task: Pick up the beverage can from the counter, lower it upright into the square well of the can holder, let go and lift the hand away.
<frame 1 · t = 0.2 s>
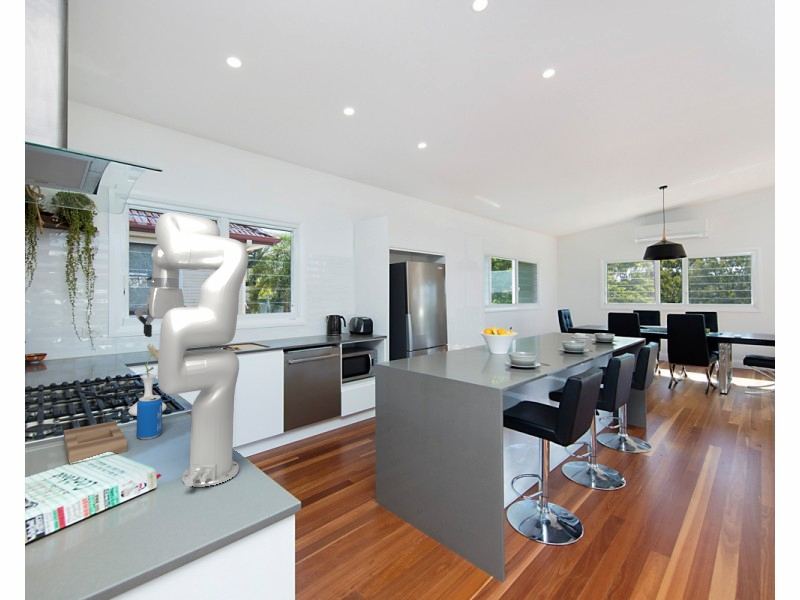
hand: (164, 335, 122), 30 cm above the counter, tool pointing down, fingers open, 9 cm apart
can holder: (94, 445, 105), on the counter
flower in vase: (148, 413, 133), on the counter
beverage can: (149, 436, 113), on the counter
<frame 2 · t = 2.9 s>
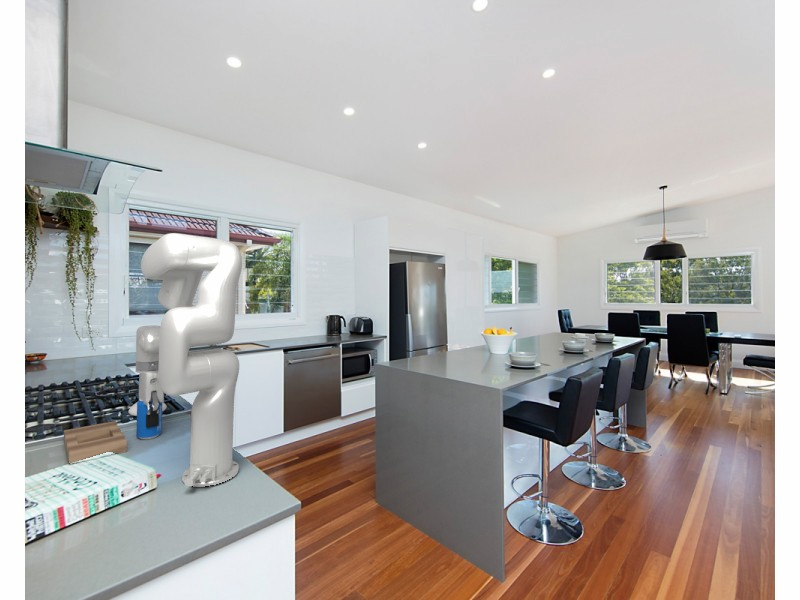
hand: (149, 422, 113), 4 cm above the counter, tool pointing down, fingers closed on beverage can, 6 cm apart
beverage can: (149, 436, 113), on the counter, touching gripper
everything else where it was.
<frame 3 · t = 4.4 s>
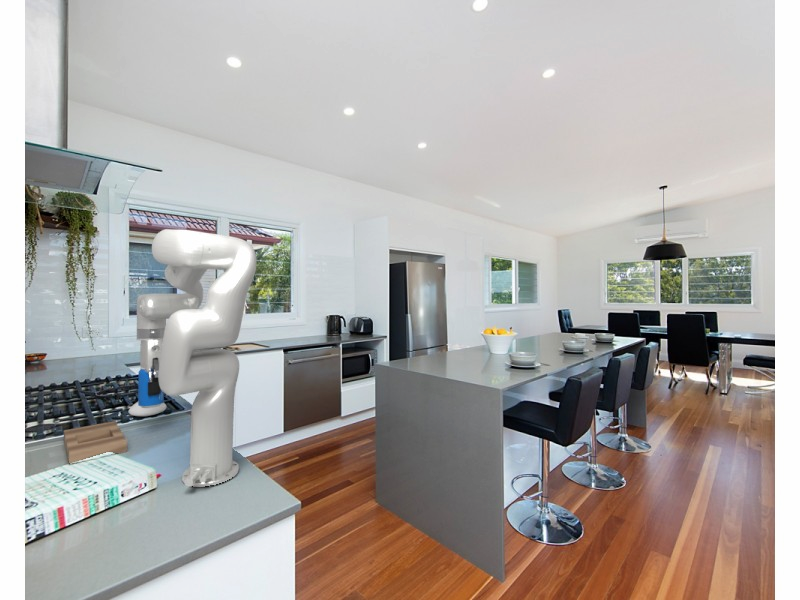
hand: (151, 392, 113), 14 cm above the counter, tool pointing down, fingers closed on beverage can, 6 cm apart
beverage can: (151, 406, 113), point 10 cm above the counter, touching gripper
everything else where it was.
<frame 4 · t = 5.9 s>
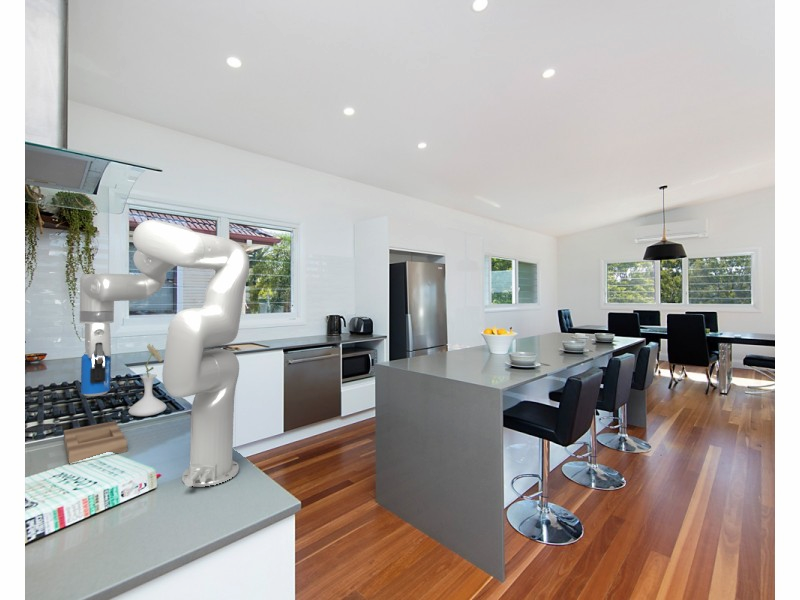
hand: (96, 379, 105), 19 cm above the counter, tool pointing down, fingers closed on beverage can, 6 cm apart
beverage can: (95, 394, 105), point 15 cm above the counter, touching gripper
everything else where it was.
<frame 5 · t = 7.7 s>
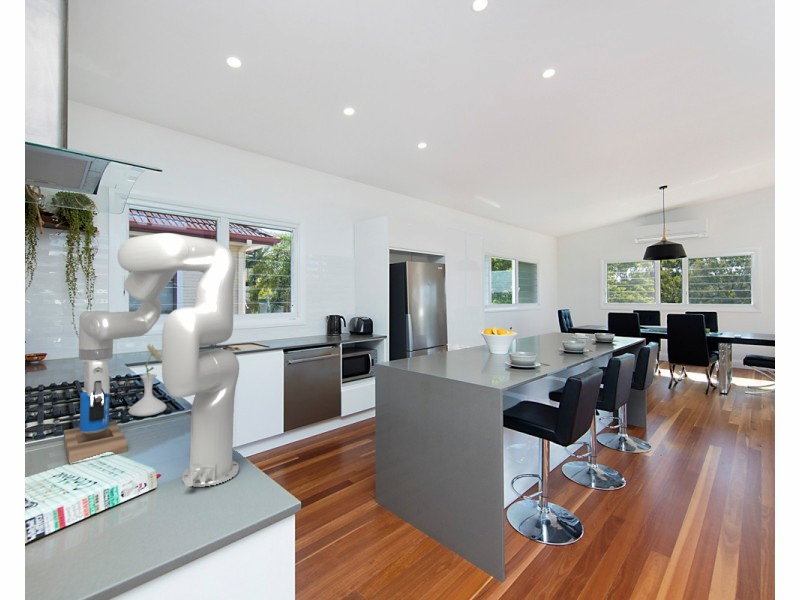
hand: (94, 415, 105), 9 cm above the counter, tool pointing down, fingers closed on beverage can, 6 cm apart
beverage can: (94, 430, 105), point 4 cm above the counter, touching gripper
everything else where it was.
when the fingers open (5 cm above the counter, at t = 8.9 s): beverage can drops 1 cm, resting in can holder.
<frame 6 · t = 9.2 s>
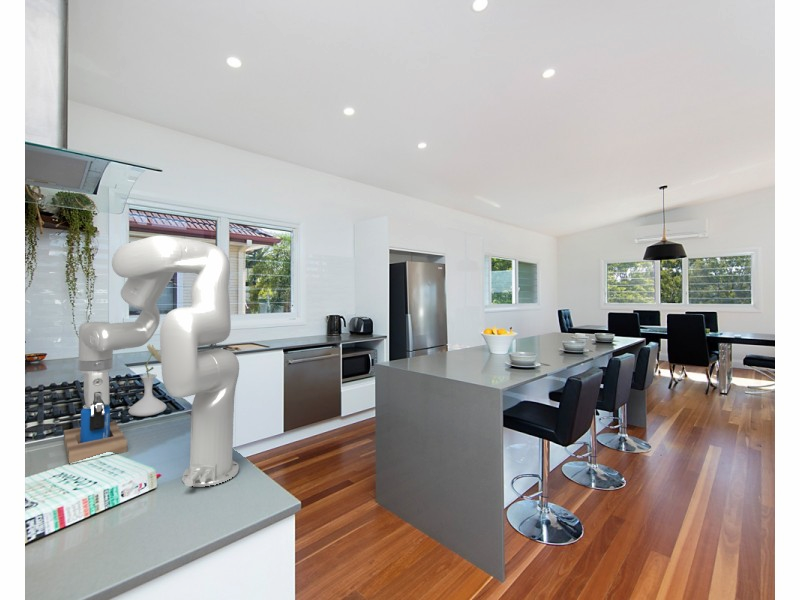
hand: (94, 424, 105), 6 cm above the counter, tool pointing down, fingers open, 9 cm apart
beverage can: (95, 446, 105), resting in can holder
everything else where it was.
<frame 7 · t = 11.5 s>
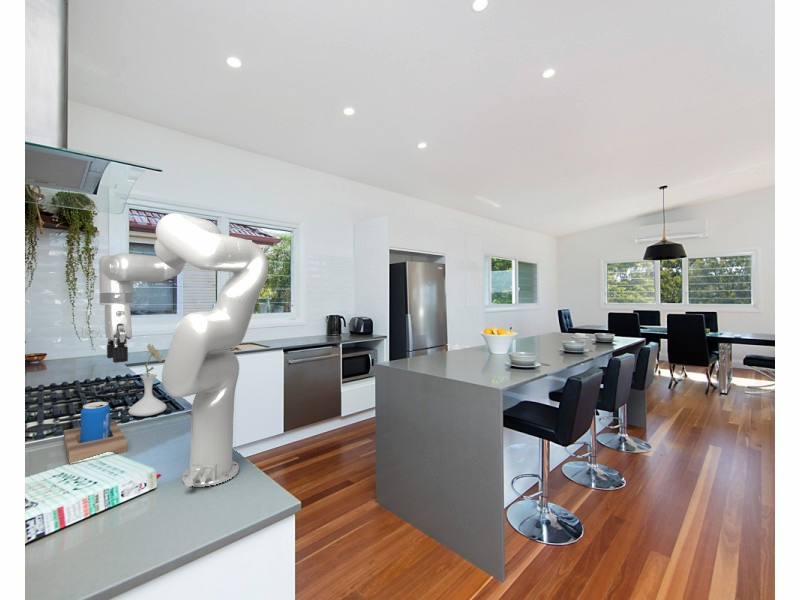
hand: (117, 359, 104), 25 cm above the counter, tool pointing down, fingers open, 9 cm apart
nothing on the counter moved.
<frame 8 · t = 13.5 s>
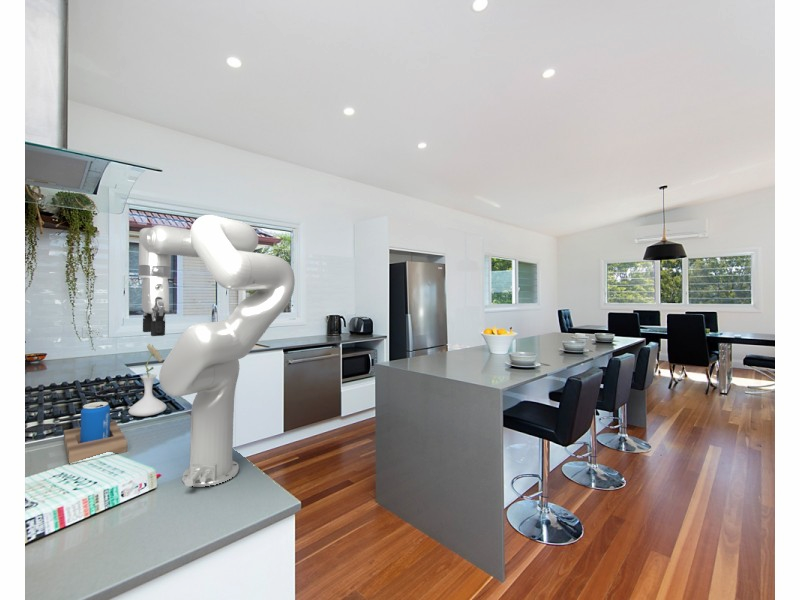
hand: (153, 333, 103), 33 cm above the counter, tool pointing down, fingers open, 9 cm apart
nothing on the counter moved.
at the end: beverage can 0.2 cm off-centre on the can holder, point 0.0 cm above the can holder's base; beverage can tilted 0°; the gripper is holding nothing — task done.
